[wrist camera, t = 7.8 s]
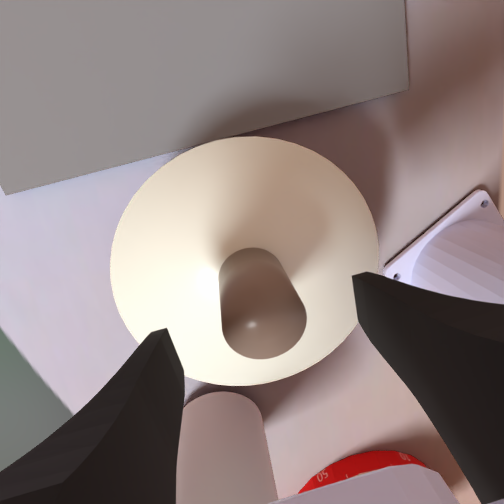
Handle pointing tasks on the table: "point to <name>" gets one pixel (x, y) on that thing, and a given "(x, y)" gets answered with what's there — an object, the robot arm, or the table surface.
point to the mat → (178, 75)
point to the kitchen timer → (358, 467)
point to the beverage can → (223, 453)
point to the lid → (244, 259)
